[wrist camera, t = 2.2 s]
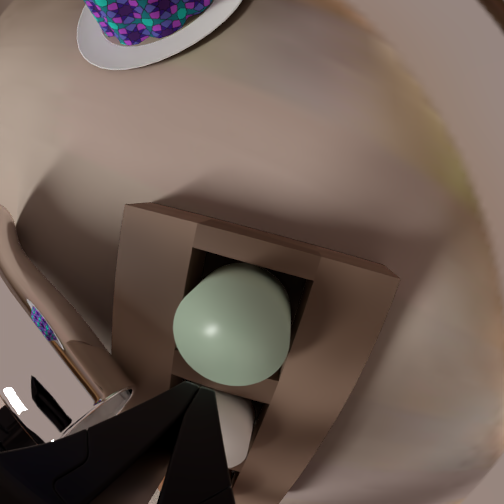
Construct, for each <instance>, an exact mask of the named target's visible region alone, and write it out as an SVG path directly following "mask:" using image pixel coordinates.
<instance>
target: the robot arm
mask: <svg viewBox="0 0 504 504" xmlns="http://www.w3.org/2000/svg"><path fill="white" fill-rule="evenodd" d="M164 476H165V478H164ZM163 478H164V481H163V485H162V488H161V492H160V495H159V499H158V502H157V504H236V503H235V498H234V494H233V489H232V488H231V486H232V485H231V480H230V475H229V470H228V465H227V459H226V454H225V448H224V443H223V437H222V431H221V425H220V419H219V413H218V406H217V400H216V393H215V391H214V390H211V389H208V388H205V387H200V388H199V386H198V385H196V384H193V383H190V382H187V381H184V382H182V383H180V384H178V385H176V386H175V387H173V388H171V389H169V390H167V391H165V392H163V393H161V394H159V395H157V396H155V397H153V398H151V399H149V400H147V401H145V402H143V403H141V404H139V405H137V406H135V407H133V408H131V409H128V410H126V411H124V412H122V413H120V414H118V415H116V416H113V417H111V418H109V419H107V420H105V421H102V422H100V423H98V424H95V425H93V426H91V427H88V429H83V430H81V431H79V432H76V433H74V434H71V435H68V436H66V437H63V438H60V439H57V440H54V441H50V442H47V443H43V444H39V445H37V444H36V443H35V442H34V441H33V440H32V439H31V437H30V436H29V435H28V434H27V433H26V432H25V430H24V429H23V428H22V427H21V425H20V424H19V423H18V422H17V420H16V419H15V418H14V416H13V415H12V414H11V412H10V411H9V409H8V408H7V406H6V405H4V406H3V407H2V408H1V409H0V504H148V502H149V501H150V499H151V498H152V496H153V494H154V493H155V491H156V489H157V488H158V486H159V485H160V483H161V481H162V480H163Z"/></svg>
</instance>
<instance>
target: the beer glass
mask: <svg viewBox="0 0 504 504" xmlns="http://www.w3.org/2000/svg"><path fill="white" fill-rule="evenodd" d="M136 391H137V386H136V384H134V383H133V382H132V381H131V380H130V378H129V377H128V376H127V375H126V373H125V372H124V371H123V370H122V368H121V367H120V366H119V364H118V363H117V362H116V360H115V359H114V358H113V357H112V355H111V354H110V353H109V351H108V350H107V349H106V347H105V346H104V344H103V343H102V342H101V341H100V339H99V338H98V337H97V335H96V334H95V333H94V331H93V330H92V329H91V328H90V326H89V325H88V324H87V323H86V321H85V320H84V319H83V318H82V316H81V315H80V314H79V313H78V312H77V310H76V309H75V308H74V307H73V306H72V304H71V303H70V302H69V301H68V300H67V299H66V298H65V297H64V296H63V295H62V294H61V292H60V291H59V290H58V289H57V288H56V287H55V286H54V285H53V284H52V283H51V282H50V281H49V280H48V279H47V278H46V277H45V276H44V275H43V274H42V273H41V272H40V270H39V269H38V268H37V267H36V266H35V265H34V264H33V263H32V262H31V260H30V259H29V258H28V257H27V255H26V254H25V252H24V251H23V249H22V247H21V245H20V242H19V239H18V235H17V231H16V227H15V223H14V220H13V218H12V215H11V214H10V212H9V211H8V210H7V209H6V208H5V207H4V206H2V205H1V204H0V397H1V399H2V400H3V402H4V403H5V405H6V406H7V408H8V409H9V411H10V412H11V414H12V415H13V416H14V418H15V419H16V420H17V422H18V423H19V424H20V425H21V427H22V428H23V429H24V430H25V432H26V433H27V434H28V435H29V436H30V437H31V439H32V440H33V441H34V442H35V443H36V444H37V445H39V444H43V443H47V442H50V441H54V440H57V439H60V438H63V437H66V436H68V435H71V434H74V433H76V432H79V431H81V430H83V429H88V427H91V426H93V425H95V424H98V423H100V422H102V421H105V420H107V419H109V418H111V417H113V416H116V415H118V414H120V413H121V412H122V411H123V409H124V408H125V407H126V406H127V405H128V404H129V402H130V401H131V400H132V398H133V397H134V395H135V393H136Z"/></svg>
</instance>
